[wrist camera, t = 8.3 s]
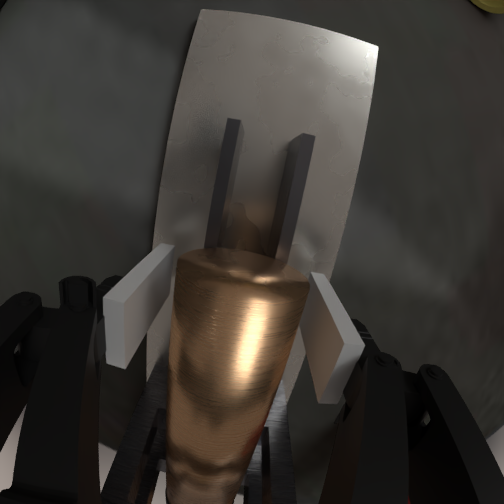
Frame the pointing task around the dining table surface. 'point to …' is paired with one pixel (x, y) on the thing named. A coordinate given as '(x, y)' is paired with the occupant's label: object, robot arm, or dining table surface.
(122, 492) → the rail
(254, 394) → the copper tube
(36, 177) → the dining table surface
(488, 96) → the dining table surface
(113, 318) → the robot arm
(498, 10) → the plastic component
